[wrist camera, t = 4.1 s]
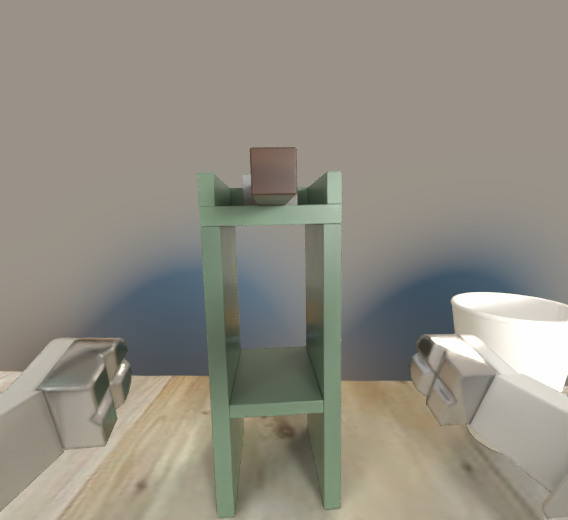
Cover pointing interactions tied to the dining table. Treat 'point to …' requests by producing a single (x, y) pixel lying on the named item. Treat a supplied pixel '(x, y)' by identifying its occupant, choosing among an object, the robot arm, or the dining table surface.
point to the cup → (518, 334)
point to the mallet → (271, 177)
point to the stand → (274, 361)
